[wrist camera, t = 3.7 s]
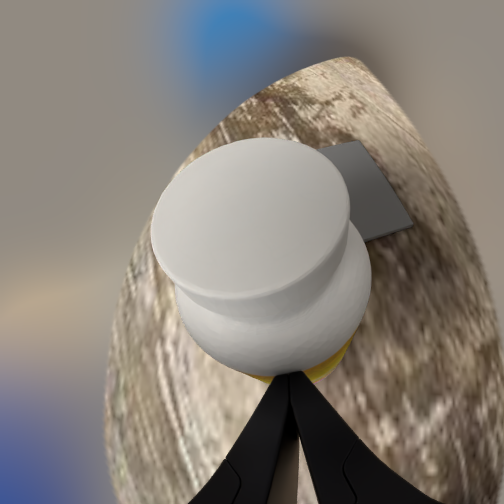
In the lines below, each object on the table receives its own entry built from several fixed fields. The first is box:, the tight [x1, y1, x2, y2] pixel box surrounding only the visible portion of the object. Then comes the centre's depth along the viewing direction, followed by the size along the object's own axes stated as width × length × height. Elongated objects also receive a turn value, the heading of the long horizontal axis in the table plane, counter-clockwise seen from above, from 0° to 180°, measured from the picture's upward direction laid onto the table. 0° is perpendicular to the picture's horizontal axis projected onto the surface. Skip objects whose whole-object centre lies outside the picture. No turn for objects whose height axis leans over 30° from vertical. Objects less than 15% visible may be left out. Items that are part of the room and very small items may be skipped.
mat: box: [317, 140, 413, 242], centre depth 21 cm, size 10×13×1 cm
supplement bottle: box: [151, 138, 371, 384], centre depth 11 cm, size 7×7×13 cm
